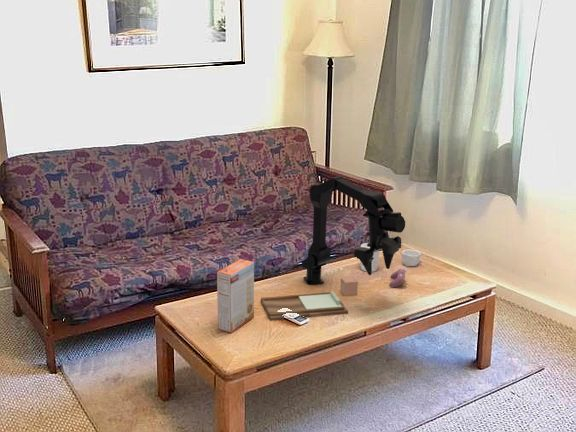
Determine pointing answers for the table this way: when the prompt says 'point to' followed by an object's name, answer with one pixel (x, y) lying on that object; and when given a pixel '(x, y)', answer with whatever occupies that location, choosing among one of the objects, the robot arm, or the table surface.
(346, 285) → the block
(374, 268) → the white cup
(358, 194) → the robot arm
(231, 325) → the cracker box
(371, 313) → the table surface
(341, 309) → the board
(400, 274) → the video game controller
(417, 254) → the teacup
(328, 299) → the lid
